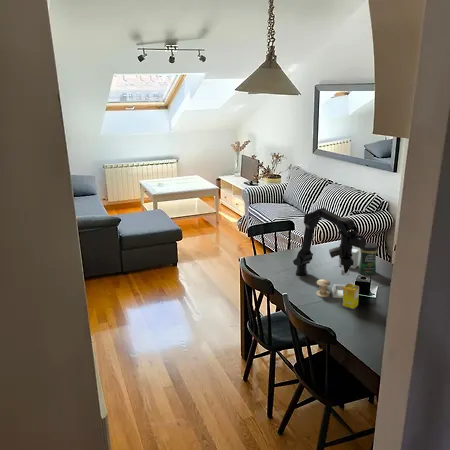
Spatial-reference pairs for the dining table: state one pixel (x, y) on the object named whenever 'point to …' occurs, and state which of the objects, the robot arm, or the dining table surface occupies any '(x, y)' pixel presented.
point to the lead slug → (343, 271)
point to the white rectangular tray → (338, 290)
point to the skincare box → (355, 258)
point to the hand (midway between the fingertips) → (345, 271)
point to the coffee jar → (368, 259)
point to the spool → (323, 288)
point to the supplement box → (350, 296)
